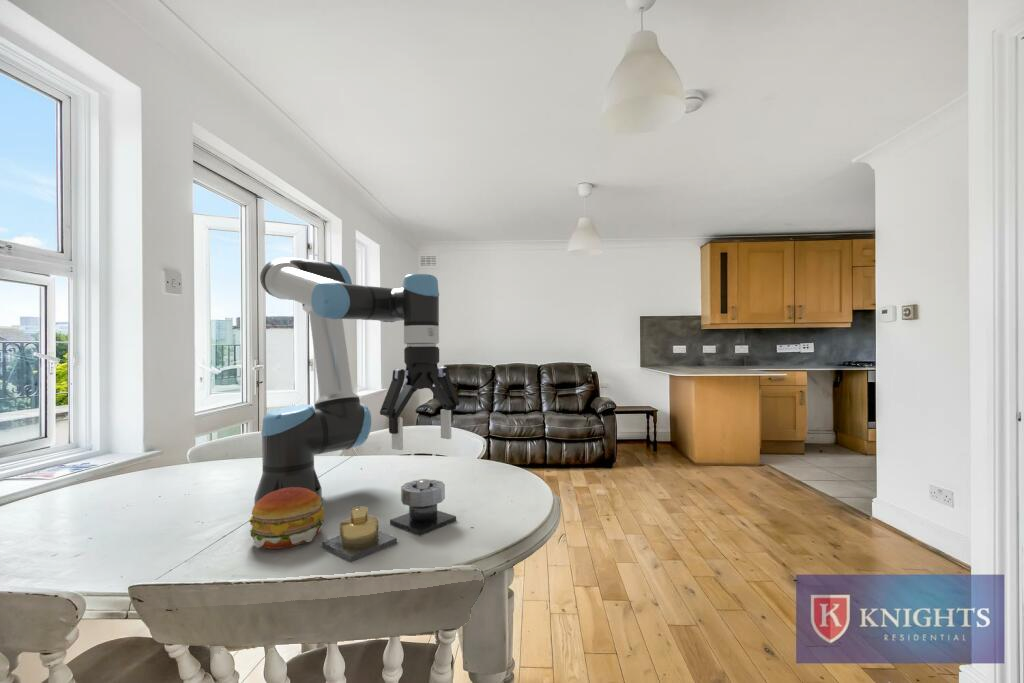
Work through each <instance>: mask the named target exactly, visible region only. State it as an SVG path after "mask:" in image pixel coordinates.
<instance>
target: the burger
mask: <svg viewBox="0 0 1024 683" xmlns="http://www.w3.org/2000/svg"><path fill="white" fill-rule="evenodd" d="M322 501H323V500H322V498H320V497H319V496H318V495H317V494H316V492H313V491H311V490H309V489H306V488H301V487H289V488H283V489H279V490H276V491H273V492H270V493H269V494H267V495H265V496H264V497H262V498H261V499H260V500H259V501H257V503H256V504H255V505H253V507H252V511H251V517H249V518H250V519H249V523H250V526H252V527H251V529H250V530H249V532H250V536H251V537H252V539H253V543H254V544H255V548H257V549H259V548H264V549H273V550H274V549H283V548H285V549H286V548H290V547H294V546H297V545H302V544H304V543H310V542H312V541H313V539H314V538H315V537H316V536H317V535H318V534H319V532H320V530H321V527H322V526H323V520H324V519H325V518H324V516H325V514H324V507H323V506H322Z"/></svg>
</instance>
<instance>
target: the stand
mask: <svg viewBox="0 0 1024 683" xmlns="http://www.w3.org/2000/svg"><path fill="white" fill-rule="evenodd" d="M430 480H431V479H426V478H422V479H421V478H420V479H417V481H416V480H415V481H416V488H417V489H425V488H430ZM455 522H457V516H456V515H453V514H450V513H447V512H443V511H441V510H438V504H435V505H431V506H424V507H413V506H408V513H405V514H402V515H400V516H397V517H394V518H391V519H389V525H390V526H393V527H396V528H399V529H402V530H404V531H406V532H410V533H412V534H414V535H418V536H420V537H421V536H424V535H425V534H428V533H430V532H433V531H435V530H438V529H440V528H443V527H445V526H448V525H450V524H452V523H455Z"/></svg>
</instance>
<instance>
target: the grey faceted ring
mask: <svg viewBox="0 0 1024 683" xmlns="http://www.w3.org/2000/svg"><path fill="white" fill-rule="evenodd" d="M417 480H418V479H417ZM417 480H411V481H409V482H406V483H404V484H403V485H402V486H400V494H401V495H400V497H401V498H400V500H401V502H402V505H404V506H408V507H409V506H413V507H424V506H431V505H435V504H437V505H438V504H440V503H442V502H443V501H444V500H445V499H446V489H445V488H446V487H445V486H446V485H445V483H444V482H443V481H441V480H437V479H429V480H430V488H425V489H417V488H416V481H417Z"/></svg>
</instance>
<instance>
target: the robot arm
mask: <svg viewBox="0 0 1024 683" xmlns="http://www.w3.org/2000/svg"><path fill="white" fill-rule="evenodd" d="M259 277H260V278H259V280H260V284H261V287H262V288H263V290H264V291H265V292H266V293H267V294H268V295H269V296H272V297H274V298H277V299H280V300H289V301H295V302H298V303H300V304H302V309H303V311H304V312H305V313H307V314H308V315H309V322H310V329H311V330H310V331H311V336H312V337H311V338H312V345H313V353H314V354H313V356H314V361H315V362H314V363H315V369H316V378H317V386H318V387H317V388H318V393H319V397H318V398H317V400H316V401H315V402H314V406H313V405H312V404H299V405H291V406H286V407H281V408H277V409H273V410H271V411H270V412H268V413H266V414H265V415H264V417H263V419H262V426H261V432H260V433H261V439H262V440H261V442H262V446H261V447H262V449H261V450H262V454H261V455H262V463H261V464H262V475H261V477H260V480H259V483H258V485H257V489H256V492H255V495H254V502H253V503H254V505H255V504H256V503H257V501H259V500H260V499H261V498H262V497H264V496H265V495H267V494H269V493H270V492H273V491H276V490H279V489H283V488H289V487H301V488H306V489H309V490H311V491H313V492H316V494H317V495H318V496H319V497H320V498H321V499H322V498H323V496H322V495H323V493H322V492H323V490H322V486H321V483H320V481H319V478H318V475H317V471H316V469H315V456H316V455H320V454H328V453H332V452H339V451H344V450H346V451H347V450H350V449H353V448H357V447H361V446H362V445H363V444H364V443H365V442H366V441H367V439H368V437H369V435H370V433H371V429H372V414H371V411H370V410H369V408H368V406H367V405H365V404H363V403H361V402H360V396H359V395H357V394H355V392H354V390H353V385H352V379H351V378H352V376H351V371H350V364H349V356H348V349H347V341H346V340H347V339H346V335H345V327H344V320H363V321H365V320H366V321H380V322H382V323H396V322H400V321H403V344H404V345H406V347H405V348H404V349H403V351H404V353H403V355H404V356H403V357H404V361H403V362H404V364H405V369H403V368H395V369H393V370H392V379H391V382H390V384H389V387H388V390H387V393H386V395H385V397H384V400H383V402H382V405H381V408H380V410H379V414H380V415H381V416H385V417H387V419H388V432H389V434H391V449H392V450H397V451H403V450H404V428H403V427H404V424H403V423H404V420H403V417H401V415H402V413H403V411H404V409H405V407H406V406H407V404H408V403H409V401H410V399H411V397H412V396H413V394H414V393H415V392H417V391H418V390H423V389H429V390H430V391H431V392H432V394H433V395H434V396H435V398H436V399H437V401H438V402H439V404H440V405H441V407H442V409H440V439H443V440H444V439H446V440H452V424H453V421H454V417H453V416H454V413H453V412H454V410H456V409H457V407H458V406H459V405H460V400H459V397H458V395H457V392H456V390H455V387H454V384H453V382H452V379H451V377H450V369H449V367H448V366H438V364H439V362H440V347H439V346H437V345H439V343H440V307H439V305H440V301H439V300H440V293H439V282H438V277H436V276H434V275H433V274H427V273H410V274H406V275H405V276H404V278H403V283H402V287H395V288H393V287H392V288H390V287H383V286H382V287H381V286H369V285H359V284H352V278H351V276H350V273H349V272H348V270H347V268H345V266H343V265H342V264H339V263H334V262H333V263H332V262H331V261H319V260H312V259H306V258H305V259H304V258H297V257H291V256H290V257H289V256H288V257H278V258H276V259H272V260H270V261H268V263H266V264H265V265H264V266H263V268H262V269H261V272H260V276H259ZM405 380H406V381H405ZM254 505H253V506H254Z"/></svg>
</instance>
